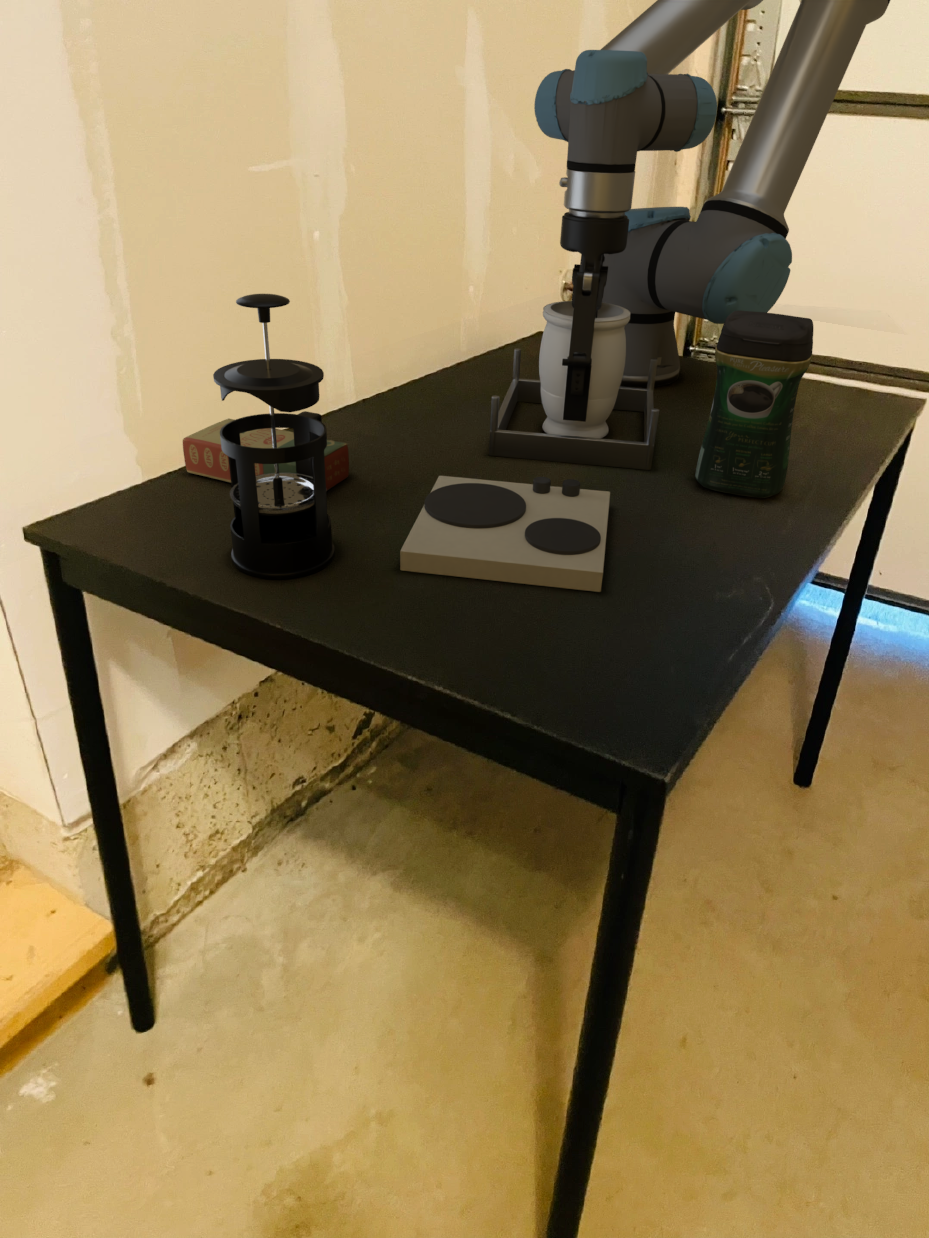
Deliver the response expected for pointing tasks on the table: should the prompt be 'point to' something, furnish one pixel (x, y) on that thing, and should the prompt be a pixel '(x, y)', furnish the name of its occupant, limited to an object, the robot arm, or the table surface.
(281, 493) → the french press
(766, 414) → the coffee jar
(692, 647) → the table surface
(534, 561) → the stove
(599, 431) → the jar
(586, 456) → the rack
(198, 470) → the carton
